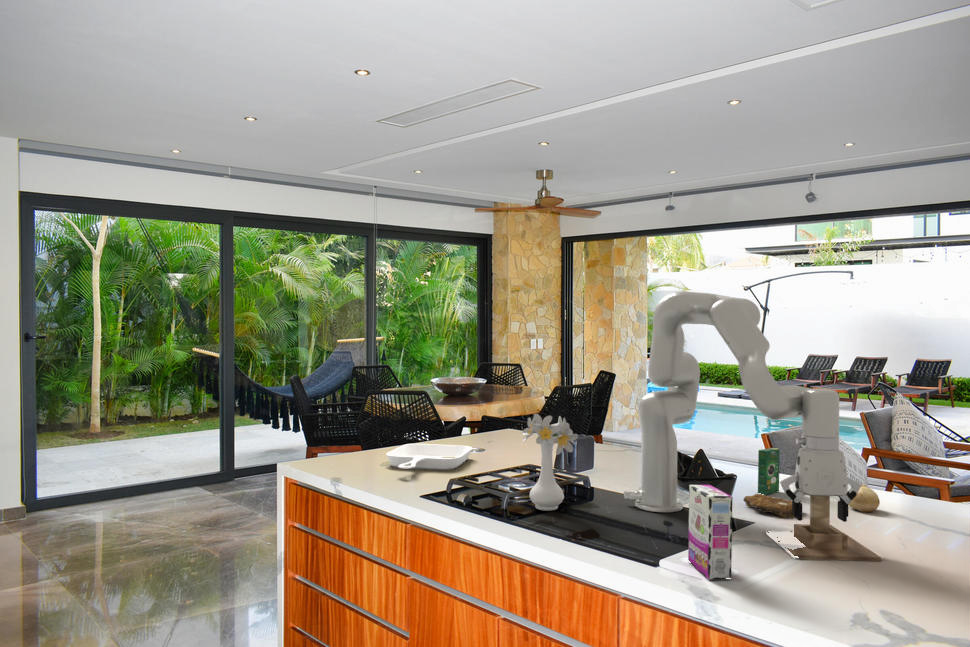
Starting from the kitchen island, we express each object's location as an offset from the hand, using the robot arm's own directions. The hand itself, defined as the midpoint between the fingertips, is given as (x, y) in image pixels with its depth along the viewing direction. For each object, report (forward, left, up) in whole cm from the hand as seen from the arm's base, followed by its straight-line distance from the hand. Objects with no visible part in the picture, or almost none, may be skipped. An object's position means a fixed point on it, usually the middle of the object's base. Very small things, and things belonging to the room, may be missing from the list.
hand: (820, 519), depth 158 cm
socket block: (0, 0, -6) cm, 6 cm away
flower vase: (-60, +28, -6) cm, 67 cm away
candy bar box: (-29, -18, -6) cm, 35 cm away
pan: (-102, +80, -7) cm, 130 cm away
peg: (0, 0, -5) cm, 5 cm away
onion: (+25, +34, -6) cm, 43 cm away
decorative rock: (-1, +31, -7) cm, 32 cm away
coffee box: (+6, +52, -6) cm, 53 cm away
